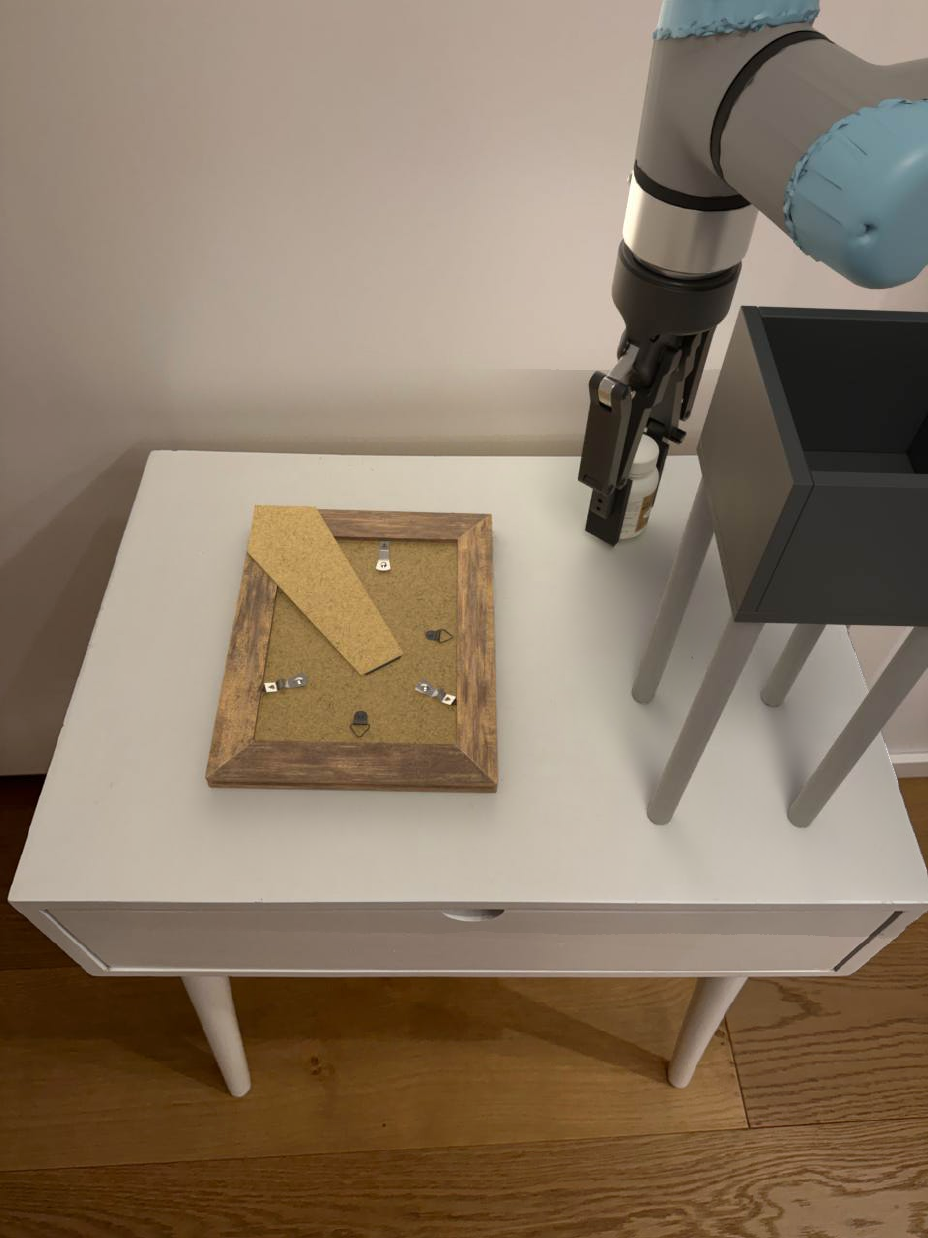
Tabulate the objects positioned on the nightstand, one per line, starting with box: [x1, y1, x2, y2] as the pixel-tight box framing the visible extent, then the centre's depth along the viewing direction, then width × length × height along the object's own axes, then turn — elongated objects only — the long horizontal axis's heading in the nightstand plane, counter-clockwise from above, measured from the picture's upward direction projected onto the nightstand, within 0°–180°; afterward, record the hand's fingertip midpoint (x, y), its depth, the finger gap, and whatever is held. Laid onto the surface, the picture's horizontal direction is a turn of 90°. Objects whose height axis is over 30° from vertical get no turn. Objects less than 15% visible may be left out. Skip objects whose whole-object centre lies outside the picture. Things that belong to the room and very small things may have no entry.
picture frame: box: [204, 504, 499, 794], centre depth 68 cm, size 19×2×24 cm
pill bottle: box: [619, 434, 659, 540], centre depth 73 cm, size 4×4×8 cm
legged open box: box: [631, 305, 928, 829], centre depth 52 cm, size 12×12×31 cm
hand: (619, 517), depth 76 cm, fingers closed on pill bottle, 4 cm apart
